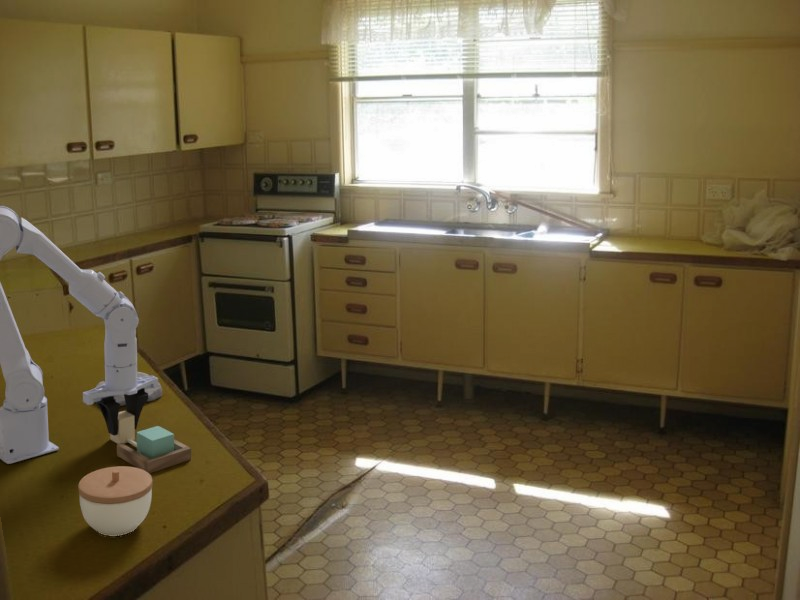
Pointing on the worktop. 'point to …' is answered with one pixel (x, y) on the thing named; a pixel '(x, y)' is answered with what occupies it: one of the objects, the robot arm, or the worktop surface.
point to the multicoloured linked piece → (143, 437)
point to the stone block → (152, 392)
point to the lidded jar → (115, 499)
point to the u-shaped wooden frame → (156, 463)
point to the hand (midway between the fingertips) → (122, 430)
